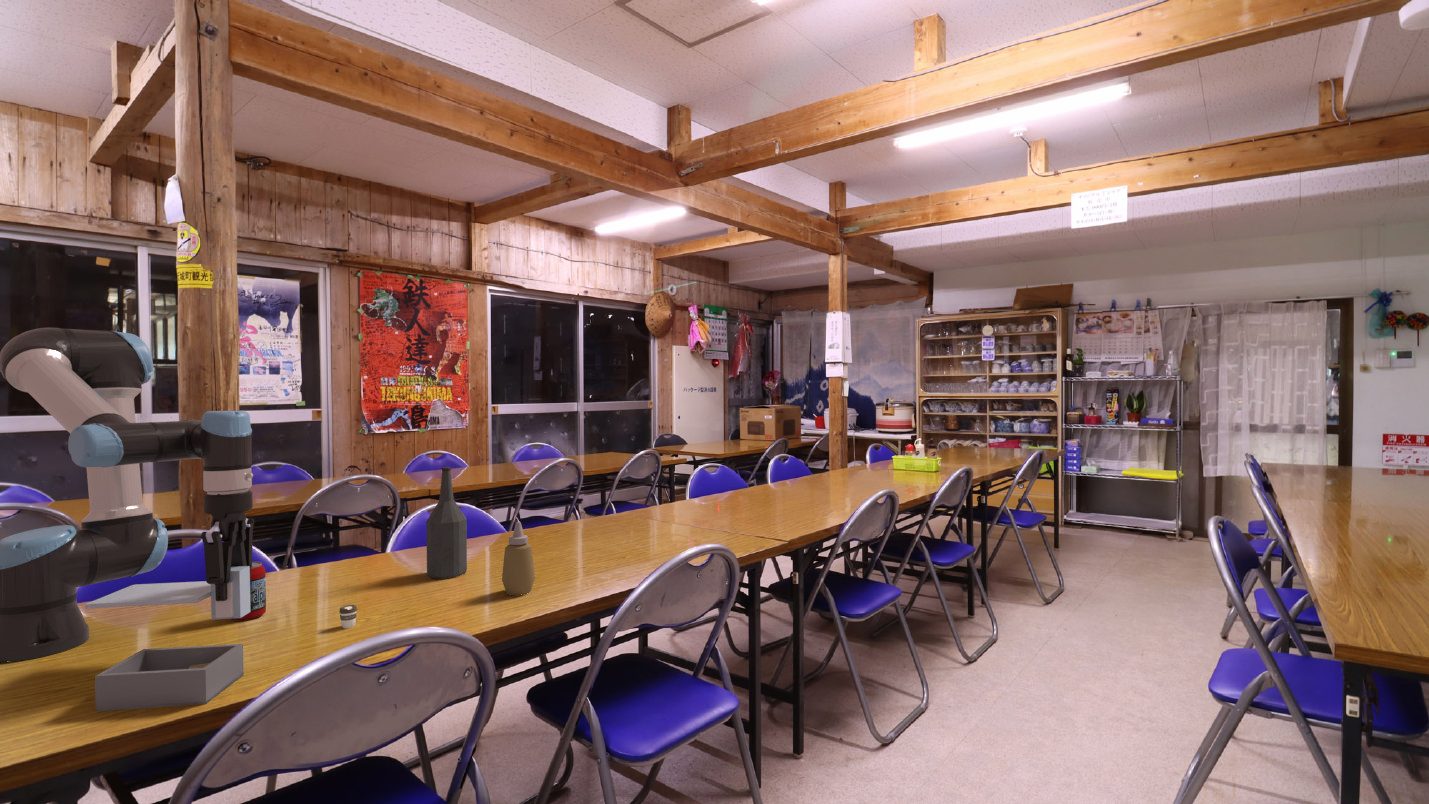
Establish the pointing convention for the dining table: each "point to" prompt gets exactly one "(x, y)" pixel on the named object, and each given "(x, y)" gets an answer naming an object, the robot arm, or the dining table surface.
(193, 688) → the tub
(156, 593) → the lid
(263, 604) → the beverage can
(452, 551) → the bottle
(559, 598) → the dining table surface
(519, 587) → the squeeze bottle
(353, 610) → the coffee cup
